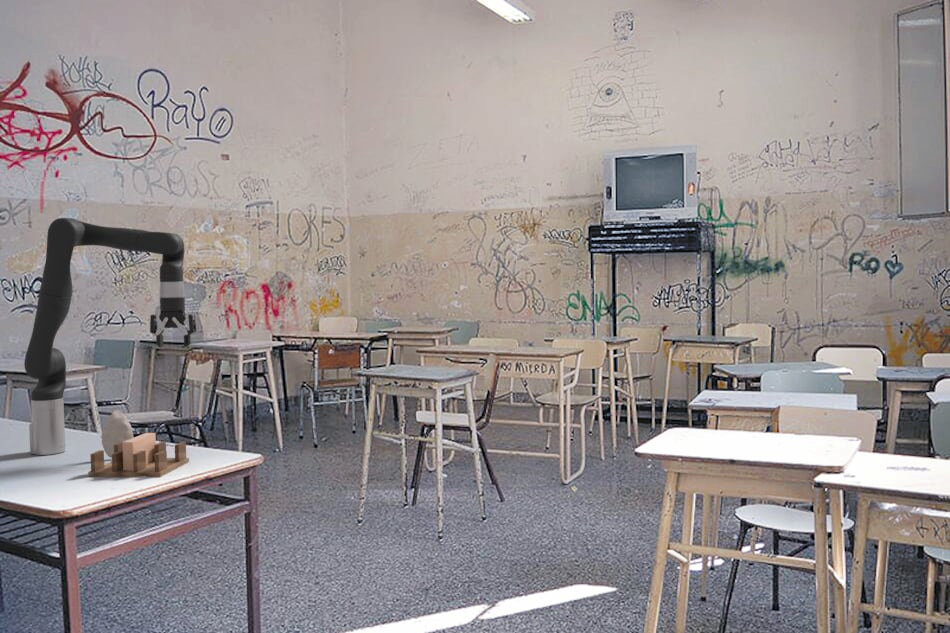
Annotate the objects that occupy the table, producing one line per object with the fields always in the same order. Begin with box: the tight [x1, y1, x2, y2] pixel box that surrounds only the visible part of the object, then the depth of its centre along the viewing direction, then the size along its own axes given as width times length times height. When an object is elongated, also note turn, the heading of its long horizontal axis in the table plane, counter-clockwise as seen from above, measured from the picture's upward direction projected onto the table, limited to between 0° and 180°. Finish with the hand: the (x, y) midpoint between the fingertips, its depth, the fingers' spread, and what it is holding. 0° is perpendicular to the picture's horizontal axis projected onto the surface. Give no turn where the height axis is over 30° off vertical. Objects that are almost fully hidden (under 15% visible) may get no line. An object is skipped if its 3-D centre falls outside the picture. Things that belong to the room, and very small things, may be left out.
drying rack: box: [87, 441, 190, 478], centre depth 250 cm, size 21×19×6 cm
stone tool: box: [100, 409, 134, 459], centre depth 265 cm, size 9×3×15 cm, turn 123°
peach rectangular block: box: [122, 432, 157, 470], centre depth 250 cm, size 3×14×8 cm, turn 175°
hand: (173, 346), depth 275 cm, fingers open, 8 cm apart
